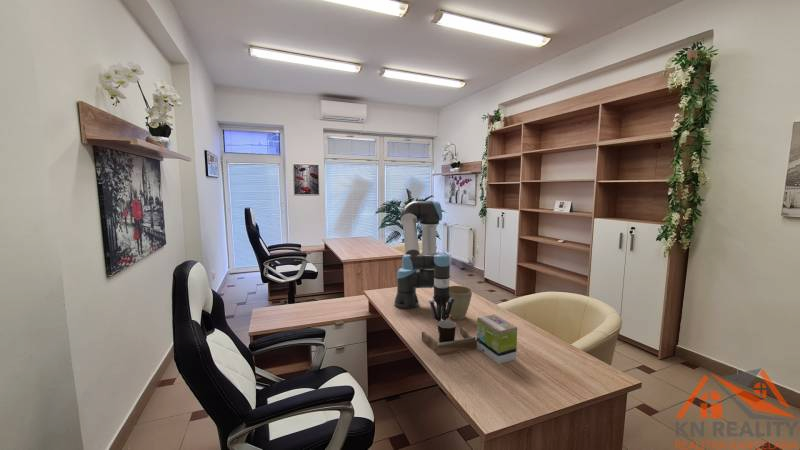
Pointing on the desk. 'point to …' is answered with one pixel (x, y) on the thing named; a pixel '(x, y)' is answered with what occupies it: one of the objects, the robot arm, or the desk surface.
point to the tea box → (497, 338)
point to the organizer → (451, 343)
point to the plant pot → (459, 301)
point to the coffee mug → (446, 330)
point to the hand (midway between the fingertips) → (441, 332)
